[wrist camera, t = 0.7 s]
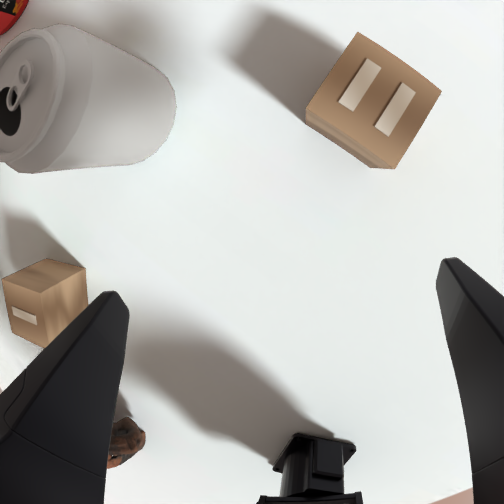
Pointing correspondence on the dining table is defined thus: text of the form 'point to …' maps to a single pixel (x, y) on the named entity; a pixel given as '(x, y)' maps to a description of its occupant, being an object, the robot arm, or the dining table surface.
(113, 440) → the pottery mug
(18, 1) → the canned food
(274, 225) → the dining table surface
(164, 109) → the can
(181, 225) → the dining table surface
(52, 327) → the marked block 2
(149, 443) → the dining table surface
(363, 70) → the marked block 1
